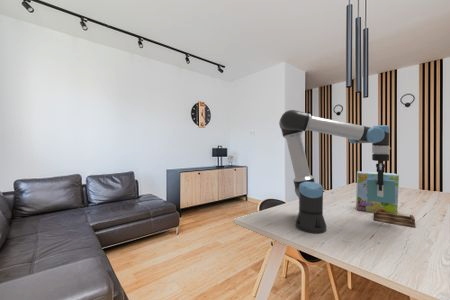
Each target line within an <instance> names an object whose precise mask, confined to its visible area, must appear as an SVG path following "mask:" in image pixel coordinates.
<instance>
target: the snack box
mask: <svg viewBox="0 0 450 300" xmlns="http://www.w3.org/2000/svg"><path fill="white" fill-rule="evenodd" d="M399 177H400V176H399V174H397V173H393V172H391V173H390V172H384V173H383V180H395V204H391V203H383V202H374V201H368V194H367V179H378V172H377V171H356V193H355V194H356V196H355V208H356V210H357V211H361V212H368V213H374V210H376V211H377V212H384V213H390V214H396V215H398V206H399V205H398V204H399V180H400V178H399Z"/></svg>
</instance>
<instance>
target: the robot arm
mask: <svg viewBox="0 0 450 300" xmlns="http://www.w3.org/2000/svg"><path fill="white" fill-rule="evenodd" d="M279 128H280V130H281V135H282V138H284V139H285V140H286V143H287V147H288V153H289V156H290V161H291V165H292V170H293V173H294V178H293V180H292V181H293V185H294V192H295V195H296V196H297V197H298V214H297V215H296V216H297V217H296V219H295V227H296V228H297V229H298V230H300V231H303V232H305V233H311V234H321V233H325V232H326V231H327V223H326V220H325V217H324V215H323V214H324V210H323V209H324V208H323V207H324V189H323V185H322V184H320V183H318V182H316V181H315V178H314V176H313V175H311V173H310V168H309V165H308V161H307V156H306V155H307V154H306V152H305V147H304V144H303V139H302V134H303V132H307V131H311V132H315V133H317V132H318V133H321V134H326V135H331V136H337V137H340V138H344V139H347V140H348V143H350V144H372V146H371V152H372V154H371V155H372V156H371V160H372V161H374V162H376V161H377V163H376V164H375V167H376V172H378V182H377V183H376V184H377V196H379V197H383V184H384V183H383V173H385V168H386V164H385V163H384V162H388V161H390V150H391V147H390V134H391V132H390V126H389V125H385V124H384V125H383V124H382V125H373V126H372V127H370V126H365V125H360V124H355V123H350V122H345V121H341V120H334V119H329V118H323V117H319V116H315V115H312V114H311V113H309V112H304V111H300V110H295V109H289V110H287V111H285V112H283V114H281V117H280V119H279Z"/></svg>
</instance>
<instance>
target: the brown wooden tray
mask: <svg viewBox="0 0 450 300" xmlns="http://www.w3.org/2000/svg"><path fill="white" fill-rule="evenodd" d="M372 219H373V221H374V222H380V223H383V224H384V223H385V224H391V225H398V226H400V227H408V228H412V229H415V228H416V219H415V217H414V215H413V214H410V215H402V214H397V215H396V214H390V213H384V212H377V211H376V210H374V212H373V217H372Z"/></svg>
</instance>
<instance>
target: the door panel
mask: <svg viewBox="0 0 450 300" xmlns="http://www.w3.org/2000/svg"><path fill="white" fill-rule="evenodd" d="M377 182H378V179H367V194H368V201H374V202H383V203H391V204H395V180H383V183H384V184H383V197H379V196H377V184H376V183H377Z"/></svg>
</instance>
